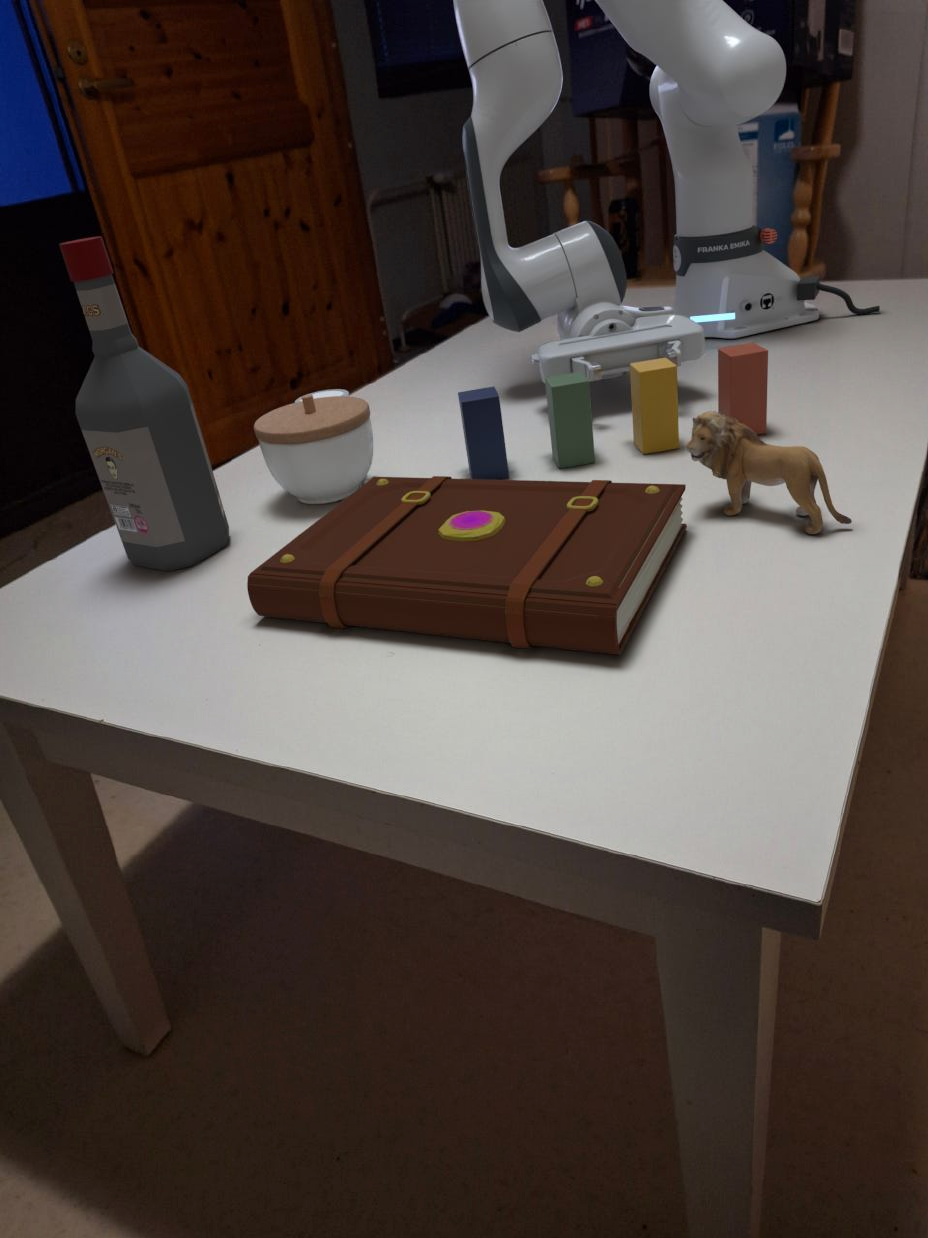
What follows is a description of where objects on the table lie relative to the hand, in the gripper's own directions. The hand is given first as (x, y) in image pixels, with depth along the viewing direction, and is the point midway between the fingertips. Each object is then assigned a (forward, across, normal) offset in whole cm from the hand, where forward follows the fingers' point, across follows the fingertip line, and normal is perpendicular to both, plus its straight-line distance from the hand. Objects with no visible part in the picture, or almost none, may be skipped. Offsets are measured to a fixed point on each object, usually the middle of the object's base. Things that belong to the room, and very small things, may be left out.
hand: (635, 366), depth 104 cm
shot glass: (-9, -37, +7) cm, 39 cm away
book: (+33, -23, +7) cm, 41 cm away
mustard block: (+9, 0, +7) cm, 11 cm away
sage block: (+9, -10, +6) cm, 15 cm away
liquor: (+16, -52, +6) cm, 55 cm away
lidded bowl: (+6, -37, +7) cm, 38 cm away
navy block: (+9, -19, +6) cm, 22 cm away
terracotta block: (+9, +9, +7) cm, 15 cm away
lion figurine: (+31, +3, +7) cm, 32 cm away
